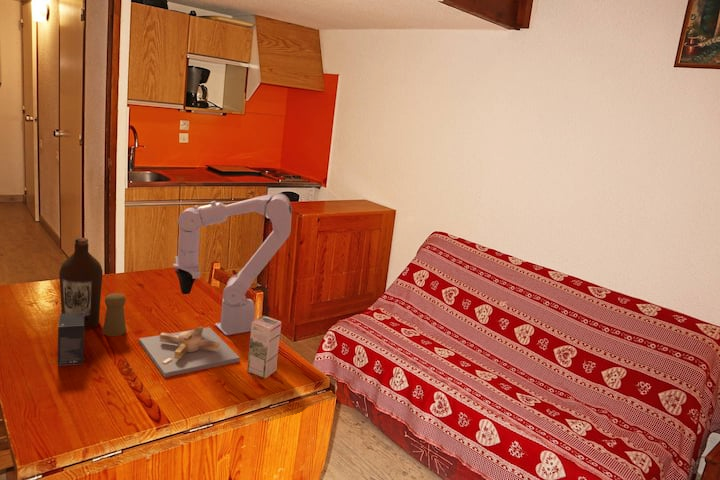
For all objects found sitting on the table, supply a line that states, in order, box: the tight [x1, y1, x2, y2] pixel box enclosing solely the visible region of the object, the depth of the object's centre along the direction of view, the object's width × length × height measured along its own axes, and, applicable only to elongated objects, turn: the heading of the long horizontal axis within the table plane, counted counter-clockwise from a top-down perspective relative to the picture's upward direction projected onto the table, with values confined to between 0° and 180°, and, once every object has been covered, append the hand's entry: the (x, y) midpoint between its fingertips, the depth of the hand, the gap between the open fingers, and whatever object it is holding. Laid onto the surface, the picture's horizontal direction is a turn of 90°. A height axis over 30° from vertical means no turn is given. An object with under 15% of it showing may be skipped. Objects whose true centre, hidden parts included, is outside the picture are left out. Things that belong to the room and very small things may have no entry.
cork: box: [102, 292, 127, 337], centre depth 148 cm, size 6×6×11 cm
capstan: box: [159, 326, 220, 359], centre depth 143 cm, size 12×12×4 cm
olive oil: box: [58, 237, 103, 331], centre depth 148 cm, size 11×11×25 cm
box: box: [57, 313, 85, 367], centre depth 132 cm, size 8×6×11 cm
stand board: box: [138, 326, 240, 378], centre depth 144 cm, size 20×20×2 cm
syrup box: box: [246, 315, 282, 379], centre depth 138 cm, size 6×6×14 cm
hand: (185, 293), depth 157 cm, fingers closed
